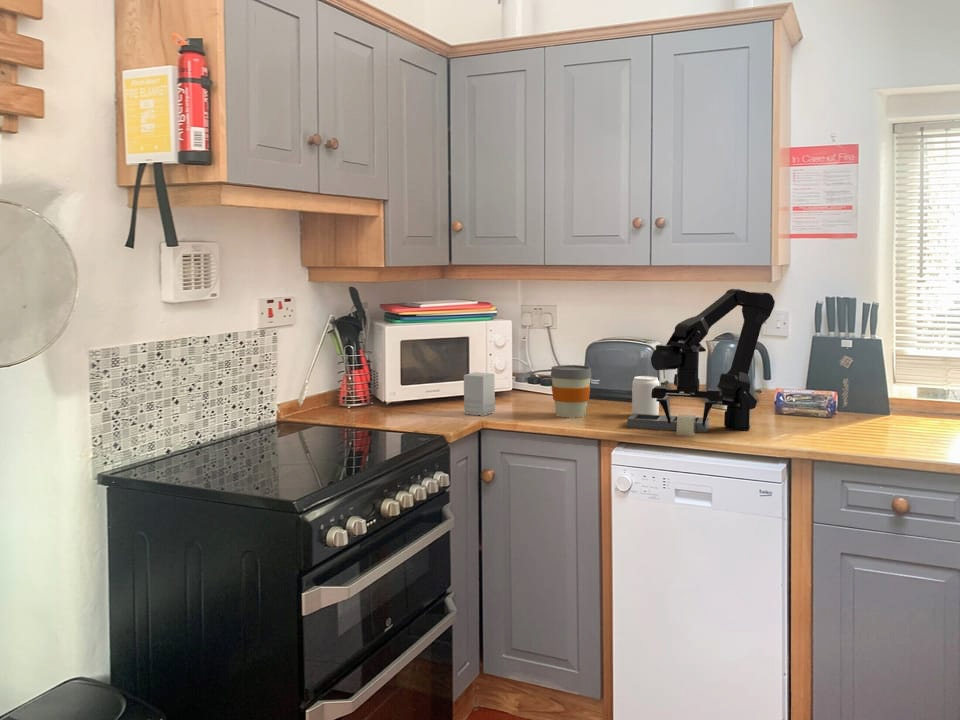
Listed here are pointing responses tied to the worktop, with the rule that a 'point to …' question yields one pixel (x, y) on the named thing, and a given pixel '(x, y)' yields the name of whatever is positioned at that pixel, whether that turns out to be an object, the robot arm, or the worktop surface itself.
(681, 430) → the block
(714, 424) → the worktop surface
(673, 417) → the grey compartment tray
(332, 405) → the worktop surface
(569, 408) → the reusable coffee cup
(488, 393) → the supplement box
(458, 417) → the worktop surface
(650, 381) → the beverage can
